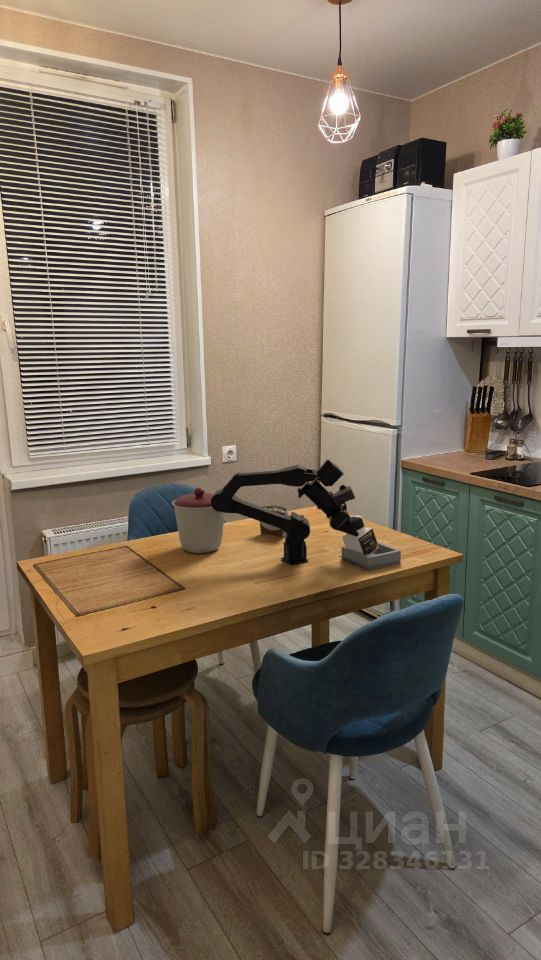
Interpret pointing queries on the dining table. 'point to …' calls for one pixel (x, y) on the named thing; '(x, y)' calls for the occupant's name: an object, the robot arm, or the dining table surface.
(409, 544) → the dining table surface
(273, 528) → the food container
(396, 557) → the open-top box
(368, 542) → the medicine bottle
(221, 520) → the canister
